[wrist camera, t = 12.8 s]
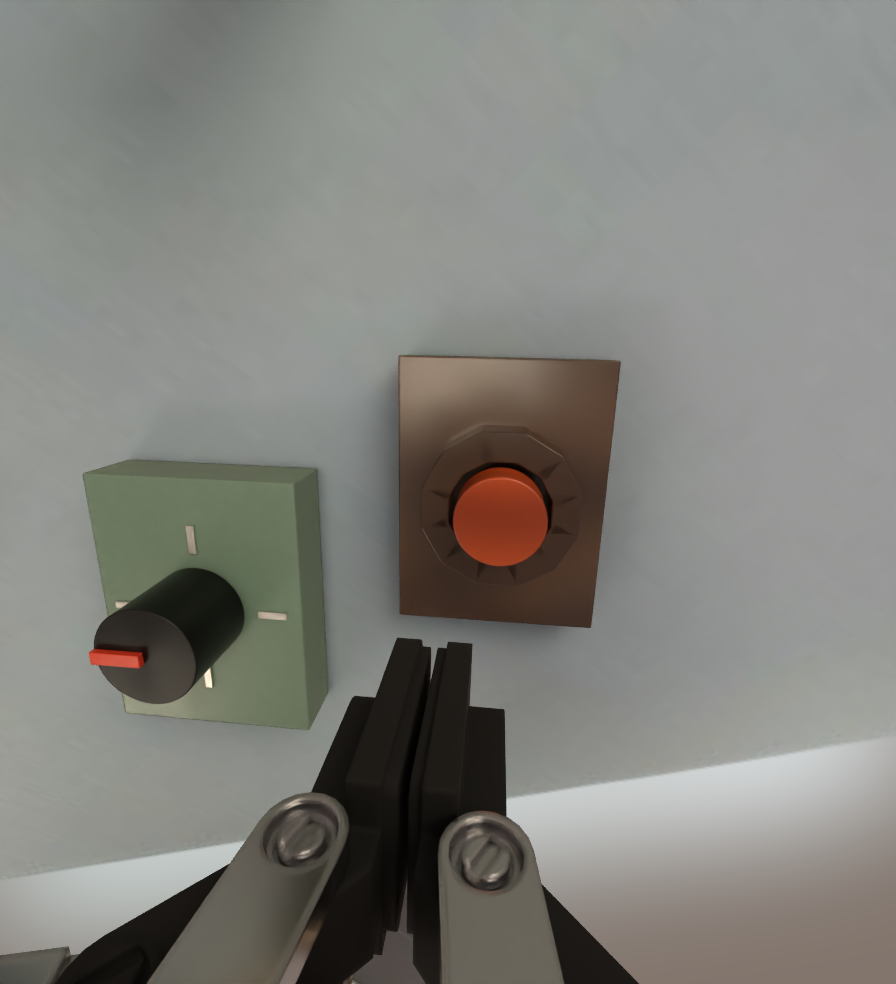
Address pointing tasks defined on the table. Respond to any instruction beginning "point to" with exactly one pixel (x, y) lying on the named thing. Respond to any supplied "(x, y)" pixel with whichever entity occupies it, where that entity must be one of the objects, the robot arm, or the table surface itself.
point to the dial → (168, 635)
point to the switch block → (511, 444)
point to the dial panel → (224, 576)
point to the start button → (500, 517)
